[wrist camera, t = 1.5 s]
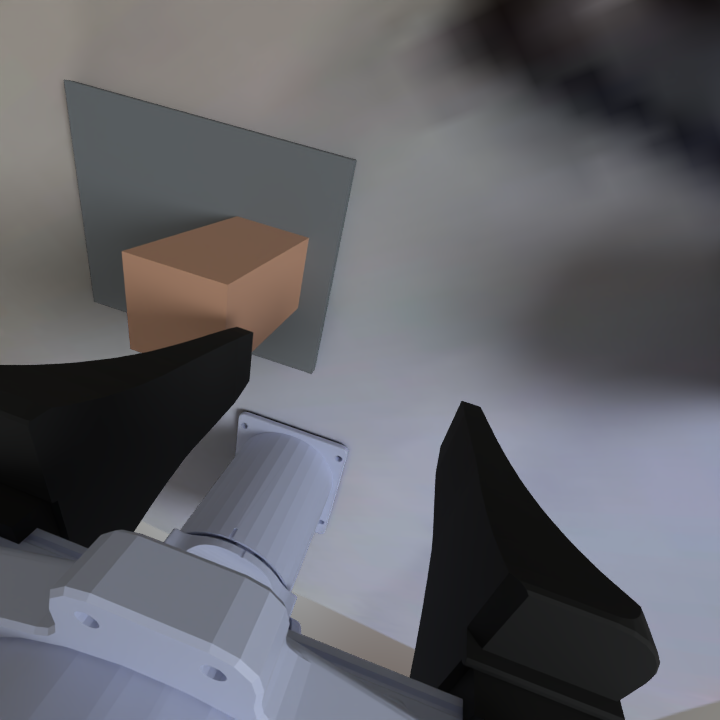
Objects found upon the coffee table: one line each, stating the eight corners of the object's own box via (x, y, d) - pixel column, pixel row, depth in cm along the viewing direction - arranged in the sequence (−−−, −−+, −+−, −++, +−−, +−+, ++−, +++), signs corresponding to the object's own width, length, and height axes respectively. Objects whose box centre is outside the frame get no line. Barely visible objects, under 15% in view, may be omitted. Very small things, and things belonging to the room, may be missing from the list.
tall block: (297, 308, 22) (222, 380, 15) (232, 287, 22) (130, 348, 16) (308, 237, 20) (227, 284, 13) (237, 216, 20) (121, 251, 14)
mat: (314, 369, 24) (311, 374, 24) (101, 298, 26) (94, 301, 25) (356, 160, 18) (353, 160, 18) (74, 81, 20) (63, 79, 19)
